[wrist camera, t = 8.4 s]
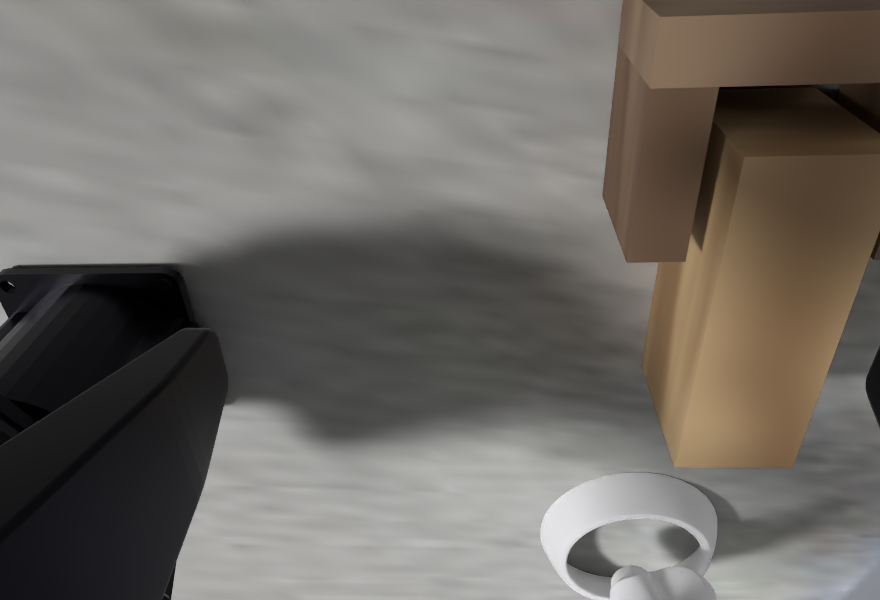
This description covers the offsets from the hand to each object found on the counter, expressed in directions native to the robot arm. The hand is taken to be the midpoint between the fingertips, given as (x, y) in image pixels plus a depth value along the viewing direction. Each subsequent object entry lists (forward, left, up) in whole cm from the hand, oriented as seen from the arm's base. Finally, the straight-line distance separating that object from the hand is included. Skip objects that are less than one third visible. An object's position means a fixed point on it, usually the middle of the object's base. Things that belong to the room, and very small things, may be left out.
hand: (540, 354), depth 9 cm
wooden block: (+7, -5, -12) cm, 15 cm away
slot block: (+7, -1, -12) cm, 14 cm away
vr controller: (+6, -20, -12) cm, 24 cm away
